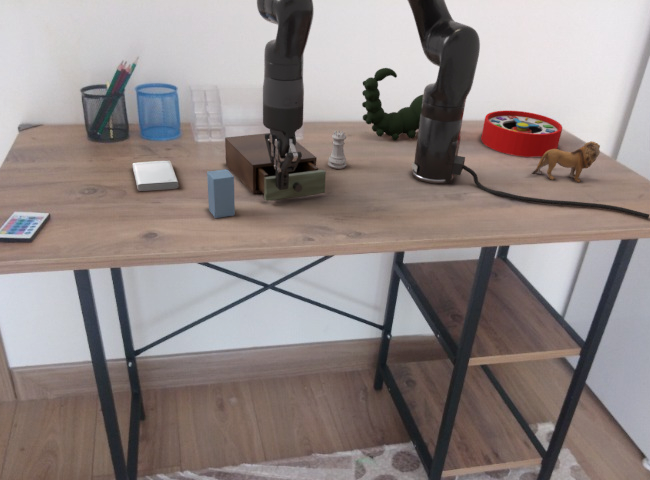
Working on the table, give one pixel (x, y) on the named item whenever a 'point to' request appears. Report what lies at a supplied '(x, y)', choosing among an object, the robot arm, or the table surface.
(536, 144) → the toy clock
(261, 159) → the cabinet
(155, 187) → the hard drive
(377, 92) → the toy figurine
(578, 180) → the lion figurine
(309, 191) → the drawer
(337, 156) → the rook chess piece
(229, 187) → the slate block
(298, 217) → the table surface
